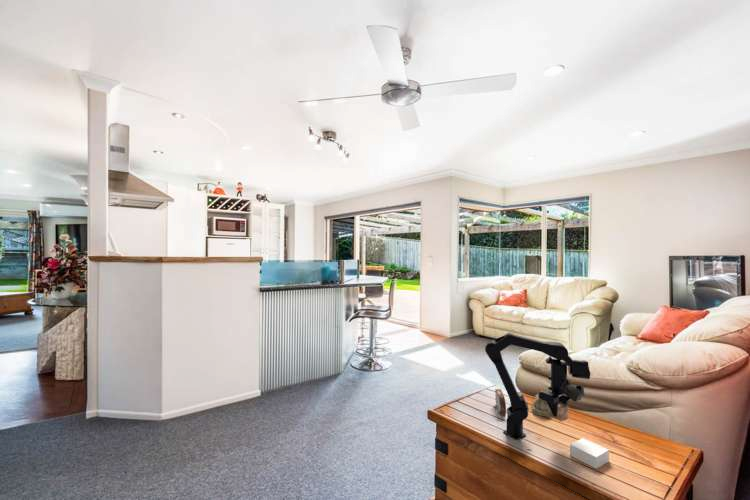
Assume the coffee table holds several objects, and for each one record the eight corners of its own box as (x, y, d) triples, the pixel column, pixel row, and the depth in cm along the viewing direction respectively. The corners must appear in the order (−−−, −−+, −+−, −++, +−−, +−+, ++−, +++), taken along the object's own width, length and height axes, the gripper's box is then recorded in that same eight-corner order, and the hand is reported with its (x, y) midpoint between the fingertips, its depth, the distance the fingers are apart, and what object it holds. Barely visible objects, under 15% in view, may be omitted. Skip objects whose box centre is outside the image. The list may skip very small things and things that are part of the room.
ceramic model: (532, 402, 167) (532, 383, 167) (557, 408, 161) (557, 387, 161) (528, 413, 155) (529, 392, 155) (555, 419, 149) (555, 397, 149)
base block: (596, 468, 114) (596, 457, 114) (569, 455, 121) (570, 444, 121) (608, 461, 118) (608, 449, 118) (582, 448, 126) (582, 438, 126)
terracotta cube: (561, 421, 126) (561, 408, 127) (548, 416, 131) (549, 403, 131) (568, 418, 129) (568, 405, 129) (555, 413, 133) (556, 401, 133)
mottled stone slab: (506, 417, 150) (506, 398, 150) (499, 416, 151) (499, 398, 151) (500, 403, 165) (500, 386, 165) (494, 402, 165) (494, 386, 166)
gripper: (566, 386, 119) (566, 429, 118) (592, 377, 128) (592, 417, 128) (537, 376, 128) (537, 416, 128) (563, 369, 138) (563, 406, 137)
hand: (558, 414), depth 130 cm, fingers closed on terracotta cube, 5 cm apart
